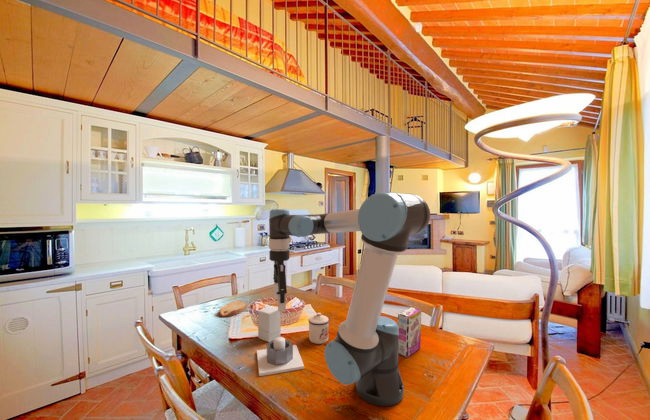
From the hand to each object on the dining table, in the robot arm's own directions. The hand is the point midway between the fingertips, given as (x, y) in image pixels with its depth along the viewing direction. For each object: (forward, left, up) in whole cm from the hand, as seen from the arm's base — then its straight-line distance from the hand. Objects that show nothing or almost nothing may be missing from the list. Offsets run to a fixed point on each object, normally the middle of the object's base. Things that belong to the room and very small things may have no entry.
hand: (279, 304), depth 105 cm
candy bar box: (-8, -52, -22) cm, 57 cm away
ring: (0, 0, -20) cm, 20 cm away
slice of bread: (+59, +19, -22) cm, 66 cm away
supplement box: (+20, +2, -22) cm, 30 cm away
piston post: (0, 0, -21) cm, 21 cm away
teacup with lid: (+13, -20, -22) cm, 32 cm away
